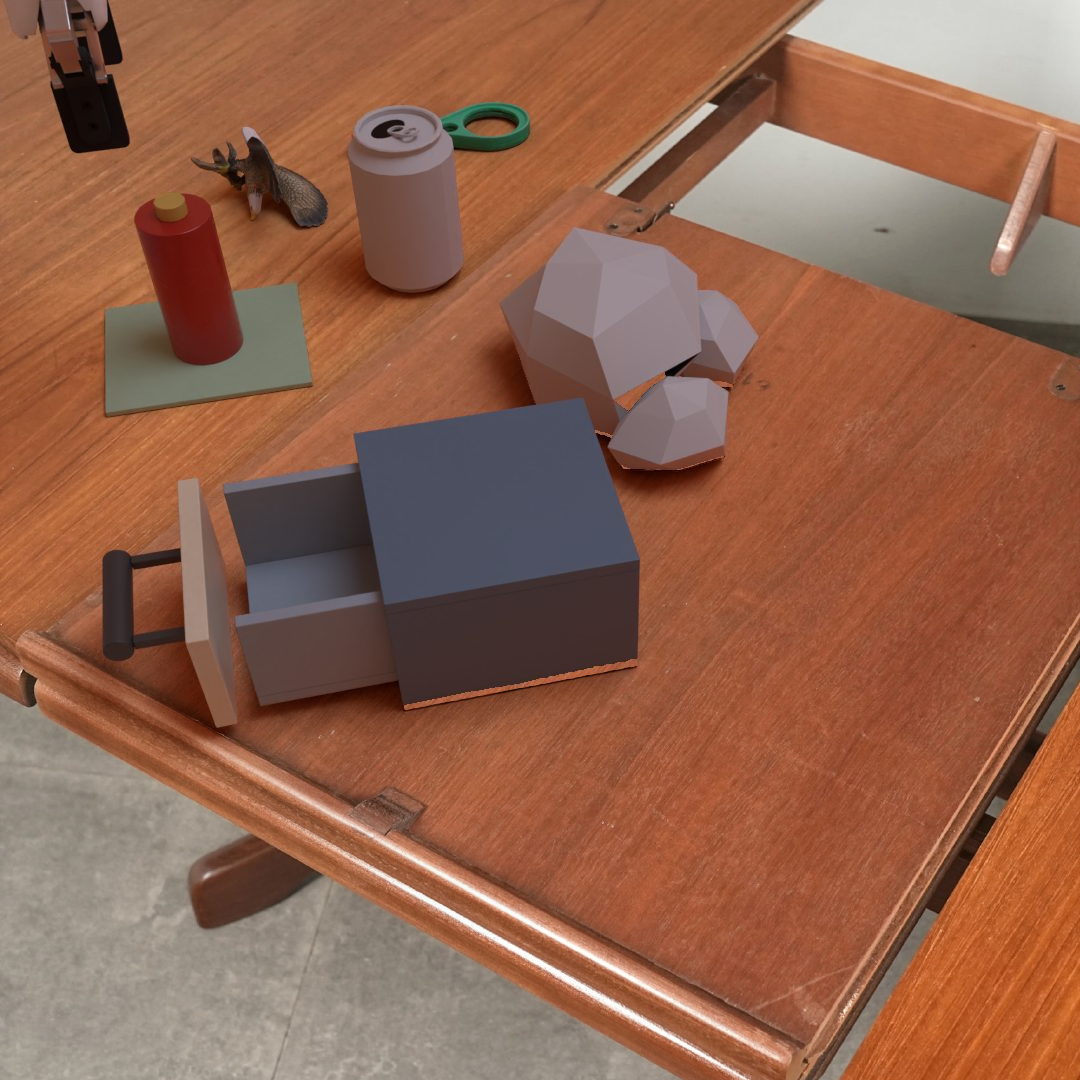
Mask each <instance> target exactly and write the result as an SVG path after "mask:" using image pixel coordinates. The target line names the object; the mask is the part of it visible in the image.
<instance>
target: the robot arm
mask: <svg viewBox="0 0 1080 1080" xmlns="http://www.w3.org/2000/svg"><path fill="white" fill-rule="evenodd" d="M2 1H3V4H4V8H5V12H6V15H7V18H8V21H9V25H10V29H11V32H12V33H13V35H15V36H16V37H17V38H18V39H21V40H22V41H23V40H28V39H29V36H36V35H37V30H38V32H39V34H40V38H41V41H42V46H43V51H44V55H45V59H46V64H47V68H48V73H49V78H50V81H49V84H50V85H49V86H50V89H51V92H52V96H53V99H54V101H55V105H56V107H57V112H58V115H59V117H60V121H61V124H62V128H63V130H64V133H65V136H66V140H67V144H68V146H69V150H70V151H71V152H73V153H75V154H86V153H93V152H94V153H95V152H102V151H109V150H117V149H124V148H127V147H129V146H130V144H131V139H130V137H131V136H130V133H129V129H128V125H127V122H126V118H125V115H124V110H123V107H122V104H121V101H120V97H119V92H118V90H117V85H116V83H115V78H114V75H113V73H108V74H107V69H106V67H107V66H115V65H120V64H121V63H122V62H123V60H124V58H123V56H124V55H123V50H122V46H121V43H120V40H119V36H118V35H119V34H118V32H117V28H116V24H115V21H114V17H113V13H112V9H111V6H110V2H109V0H2Z"/></svg>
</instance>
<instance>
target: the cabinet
mask: <svg viewBox="0 0 1080 1080" xmlns="http://www.w3.org/2000/svg"><path fill="white" fill-rule="evenodd" d="M352 436H353V440H354V446H355V451H356V456H357V463H359V468H360V474H361V479H362V485H363V491H364V496H365V502H366V507H367V513H368V518H369V524H370V529H371V535H372V540H373V546H374V552H375V557H376V563H377V568H378V574H379V579H380V585H381V590H382V596H383V602H384V607H385V612H386V618H387V623H388V628H389V633H390V639H391V644H392V649H393V655H394V660H395V665H396V671H397V676H398V687H399V692H400V696H401V697H400V698H401V701H402V702H401V703H402V706H403V705H407V704H412V703H417V702H422V701H427V700H432V699H437V698H442V697H447V696H451V695H456V694H461V693H465V692H471V691H479V690H484V689H489V688H495V687H503V686H507V685H514V684H520V683H524V682H528V681H532V680H536V679H539V678H548V677H549V676H556V675H559V674H565V673H568V672H575V671H578V670H584V669H587V668H593V667H594V666H604V665H606V664H615V663H617V662H626V661H628V660H630V659H637V658H638V659H639V624H640V623H639V619H640V618H639V617H640V576H641V575H640V574H641V558H640V556H639V552H638V549H637V547H636V544H635V541H634V538H633V535H632V533H631V529H630V527H629V524H628V522H627V518H626V516H625V512H624V510H623V507H622V504H621V501H620V499H619V495H618V493H617V490H616V487H615V484H614V481H613V479H612V476H611V473H610V470H609V468H608V464H607V461H606V459H605V456H604V453H603V450H602V448H601V445H600V441H599V439H598V436H597V434H596V433H595V430H594V427H593V425H592V422H591V419H590V416H589V413H588V410H587V408H586V405H585V402H584V399H583V398H576V399H570V400H563V401H557V402H550V403H544V404H538V405H535V404H533V405H526V406H519V407H514V408H512V407H511V408H506V409H500V410H495V411H488V412H487V411H486V412H481V413H474V414H468V415H462V416H456V417H449V418H442V419H437V420H431V421H430V420H429V421H424V422H417V423H411V424H405V425H399V426H392V427H386V428H378V429H372V430H366V431H360V432H354V433H353V435H352Z"/></svg>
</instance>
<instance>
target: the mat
mask: <svg viewBox="0 0 1080 1080" xmlns="http://www.w3.org/2000/svg"><path fill="white" fill-rule="evenodd" d="M232 293H233V297H234V301H235V305H236V309H237V313H238V317H239V321H240V325H241V329H242V333H243V344H242V346H241V348H240V350H239V351H238V352H237V353H236V354H235V355H233V356H232V357H230V358H228V359H226V360H224V361H222V362H219V363H215V364H210V365H194V364H189V363H186V362H184V361H182V360H180V359H179V358H178V357H177V356H176V355H175V354H174V352H173V349H172V346H171V343H170V339H169V336H168V333H167V329H166V326H165V323H164V319H163V316H162V313H161V309H160V306H159V303H158V301H150V302H144V303H137V304H136V303H135V304H130V305H123V306H115V307H107V308H105V309H104V346H105V347H104V371H105V372H104V380H105V381H104V387H105V389H104V390H105V393H104V395H105V396H104V399H105V400H104V401H105V407H104V408H105V410H104V411H105V412H104V413H105V415H106V417H108V418H109V417H116V416H122V415H129V414H135V413H136V414H137V413H144V412H149V411H155V410H162V409H170V408H176V407H182V406H188V405H195V404H201V403H203V404H204V403H208V402H209V403H210V402H216V401H221V400H228V399H236V398H241V397H242V398H243V397H249V396H256V395H262V394H267V393H269V394H270V393H275V392H281V391H288V390H295V389H303V388H307V387H308V388H309V387H313V386H314V383H313V377H312V371H311V365H310V358H309V352H308V345H307V338H306V333H305V326H304V320H303V314H302V313H303V312H302V307H301V301H300V294H299V288H298V283H297V282H288V283H282V284H281V283H280V284H275V285H267V286H261V287H260V286H259V287H253V288H245V289H238V290H232Z"/></svg>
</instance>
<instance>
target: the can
mask: <svg viewBox="0 0 1080 1080" xmlns="http://www.w3.org/2000/svg"><path fill="white" fill-rule="evenodd" d="M439 118H440V117H439V116H438V115H437V114H435V113H434V112H433V111H430V110H429V109H427V108H423V107H420V106H417V105H406V104H398V105H387V106H383V107H380V108H376V109H373V110H371V111H369V112H367V113H365V114H364V115H363V116H361V117H360V118H359V119H357V121H356V122H355V125H354V127H353V129H352V130H353V133H354V137H353V138H352V137H351V140H350V141H349V144H348V145H347V149H346V150H347V158H348V165H349V170H350V177H351V183H352V184H351V185H352V190H353V194H354V203H355V209H356V214H357V220H358V227H359V234H360V240H361V246H362V252H363V259H364V265H365V270H366V272H367V273H368V274H369V276H370V277H371V278H372V279H373V280H375V281H376V282H378V283H380V284H381V285H384V286H386V287H387V288H388V289H391V290H393V291H396V292H400V293H409V294H415V293H425V292H429V291H433V290H436V289H438V288H439V287H441V286H443V285H445V284H447V283H448V281H449V280H450V279H452V278H453V277H454V276H455V275H456V274H457V273H458V272H459V271H460V270H461V269H462V266H463V264H464V261H465V255H464V245H463V244H464V243H463V234H462V225H461V224H462V223H461V213H460V204H459V203H460V202H459V192H458V191H459V190H458V182H457V172H456V171H457V170H456V159H455V152H454V147H453V142H452V138H451V137H450V135H449V134H448V133H447V132H446V131H445V130H444V129H443V127H442V121H441V120H440V119H439Z"/></svg>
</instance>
